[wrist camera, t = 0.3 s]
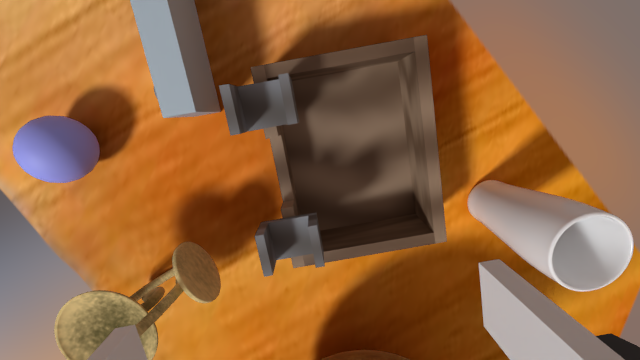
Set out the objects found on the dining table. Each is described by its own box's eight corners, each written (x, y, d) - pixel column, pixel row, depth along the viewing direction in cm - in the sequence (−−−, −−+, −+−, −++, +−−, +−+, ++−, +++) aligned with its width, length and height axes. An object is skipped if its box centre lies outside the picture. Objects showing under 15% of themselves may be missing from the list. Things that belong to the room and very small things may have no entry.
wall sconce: (196, 211, 38) (-7, 388, 14) (240, 272, 40) (129, 522, 16) (105, 267, 40) (-227, 517, 15) (152, 323, 41) (-77, 627, 17)
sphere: (77, 101, 35) (21, 99, 29) (126, 147, 37) (83, 155, 30) (39, 144, 36) (-25, 152, 29) (88, 187, 37) (37, 204, 31)
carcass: (243, 79, 35) (214, 66, 25) (404, 49, 35) (443, 23, 25) (279, 243, 39) (267, 291, 29) (423, 218, 39) (463, 257, 29)
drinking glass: (512, 167, 38) (637, 203, 23) (515, 220, 39) (635, 284, 25) (456, 179, 38) (546, 221, 24) (462, 230, 40) (550, 300, 25)
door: (152, -17, 33) (103, -56, 25) (188, -23, 33) (150, -65, 25) (187, 117, 36) (153, 119, 28) (221, 111, 36) (195, 112, 28)
